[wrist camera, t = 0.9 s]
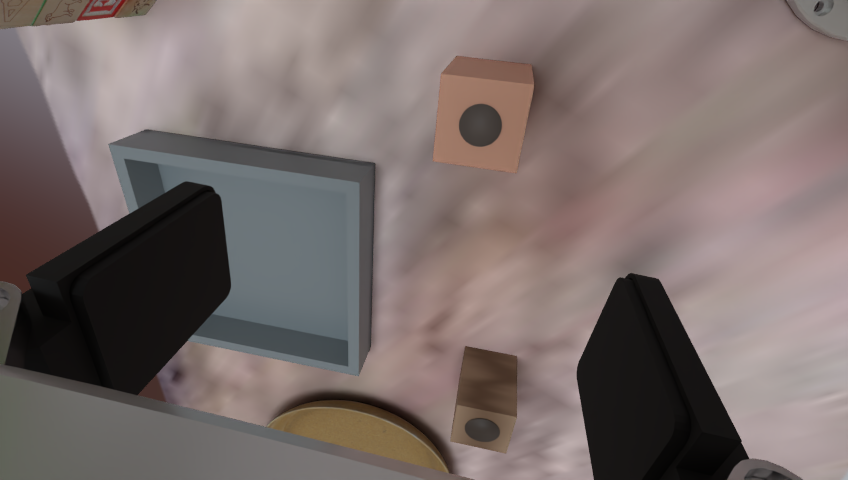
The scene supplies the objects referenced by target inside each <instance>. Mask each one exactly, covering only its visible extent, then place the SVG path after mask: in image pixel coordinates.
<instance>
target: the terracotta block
mask: <svg viewBox="0 0 848 480" xmlns="http://www.w3.org/2000/svg"><path fill="white" fill-rule="evenodd" d="M533 90H534V79H533V73H532V66H531V64H522V63H513V62H504V61H496V60H487V59H478V58H469V57H461V56H456V57H455V59H454V60H453V61H452V62H451V63H450V64H449V65H448V66H447V68H446V69H445V70H444V71H443V72H442V73H441V80H440V91H439V101H438V111H437V122H436V132H435V143H434V153H433V161H435V162H442V163H448V164H455V165H462V166H469V167H476V168H483V169H490V170H497V171H504V172H511V173H517V168H518V163H519V158H520V154H521V149H522V144H523V139H524V134H525V129H526V124H527V119H528V114H529V109H530V105H531V100H532V95H533Z"/></svg>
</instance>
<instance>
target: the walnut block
mask: <svg viewBox="0 0 848 480" xmlns="http://www.w3.org/2000/svg"><path fill="white" fill-rule="evenodd" d="M516 418H517V356H513V355H508V354H503V353H498V352H493V351H488V350H482V349H477V348H472V347H467V346H465V351H464V357H463V362H462V368H461V374H460V379H459V385H458V392H457V399H456V406H455V413H454V420H453V426H452V433H451V440H450V441H451V442H456V443H460V444H465V445H470V446H474V447H479V448H483V449H488V450H492V451H497V452H502V453H506V452H507V449H508V445H509V442H510V439H511V435H512V432H513V428H514V425H515V422H516Z"/></svg>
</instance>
